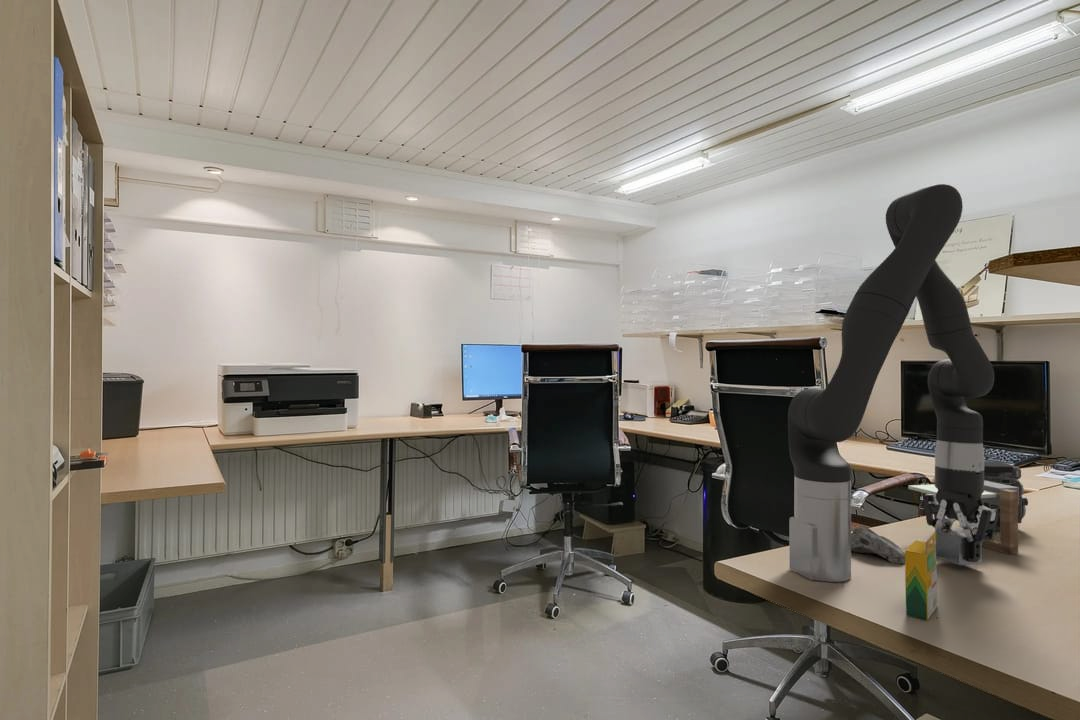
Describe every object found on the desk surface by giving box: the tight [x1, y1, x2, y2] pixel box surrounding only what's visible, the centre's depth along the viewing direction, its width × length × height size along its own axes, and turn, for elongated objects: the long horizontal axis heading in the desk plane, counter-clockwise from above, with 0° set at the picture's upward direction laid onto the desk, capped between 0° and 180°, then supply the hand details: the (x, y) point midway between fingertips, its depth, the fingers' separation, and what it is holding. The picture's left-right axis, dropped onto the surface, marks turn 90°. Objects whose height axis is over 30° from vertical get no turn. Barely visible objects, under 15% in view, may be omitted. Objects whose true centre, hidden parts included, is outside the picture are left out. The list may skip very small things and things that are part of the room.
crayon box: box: [904, 531, 938, 621], centre depth 89 cm, size 7×3×12 cm, turn 136°
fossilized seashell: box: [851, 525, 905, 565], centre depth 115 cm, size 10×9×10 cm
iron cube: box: [934, 528, 983, 566], centre depth 108 cm, size 5×5×5 cm
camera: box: [968, 460, 1029, 531], centre depth 135 cm, size 10×10×15 cm
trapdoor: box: [907, 480, 1019, 506], centre depth 123 cm, size 17×13×4 cm
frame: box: [939, 489, 1019, 555], centre depth 124 cm, size 2×17×12 cm, turn 12°
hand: (958, 556), depth 108 cm, fingers closed on iron cube, 5 cm apart
